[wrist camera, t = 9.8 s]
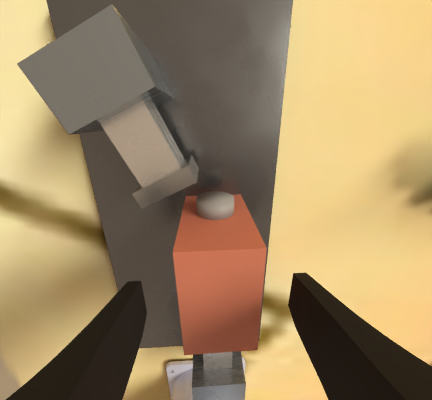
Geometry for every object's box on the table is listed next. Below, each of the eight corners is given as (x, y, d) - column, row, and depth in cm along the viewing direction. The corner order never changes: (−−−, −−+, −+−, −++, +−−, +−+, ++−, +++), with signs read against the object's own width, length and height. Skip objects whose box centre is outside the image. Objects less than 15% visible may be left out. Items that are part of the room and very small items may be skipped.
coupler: (238, 276, 16) (256, 360, 10) (191, 278, 16) (185, 365, 10) (241, 182, 13) (268, 230, 8) (184, 184, 13) (170, 234, 7)
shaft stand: (256, 330, 20) (274, 403, 15) (136, 337, 19) (111, 416, 14) (285, 8, 11) (358, -90, 6) (59, 5, 10) (-85, -106, 5)
